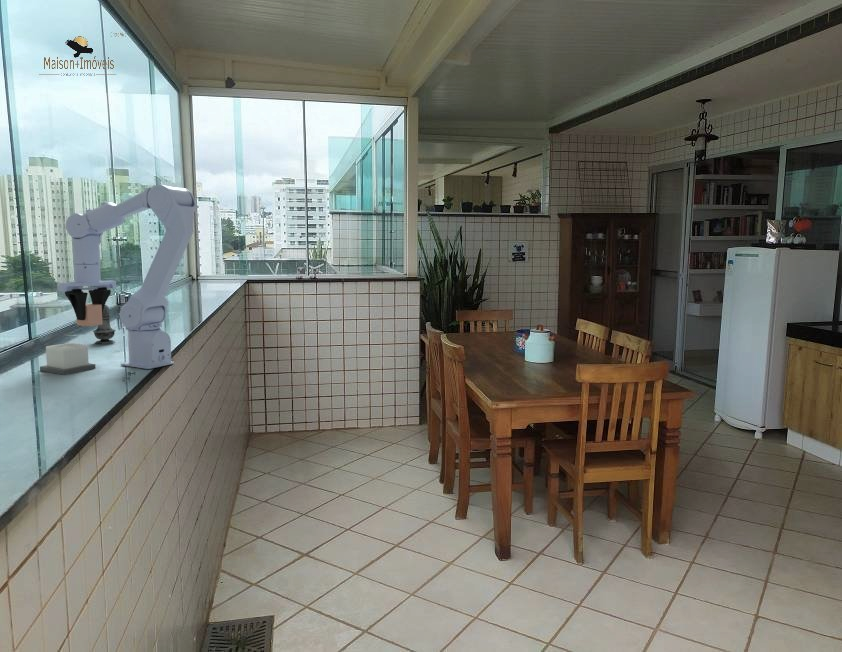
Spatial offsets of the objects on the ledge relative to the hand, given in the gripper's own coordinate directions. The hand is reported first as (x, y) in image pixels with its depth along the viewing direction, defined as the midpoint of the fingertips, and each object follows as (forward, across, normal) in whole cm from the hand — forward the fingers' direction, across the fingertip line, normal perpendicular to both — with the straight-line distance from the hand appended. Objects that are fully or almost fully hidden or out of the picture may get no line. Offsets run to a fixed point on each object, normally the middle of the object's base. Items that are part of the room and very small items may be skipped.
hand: (89, 318), depth 152 cm
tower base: (+10, +10, +6) cm, 16 cm away
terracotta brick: (+1, 0, 0) cm, 1 cm away
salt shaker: (+11, -19, -19) cm, 28 cm away
